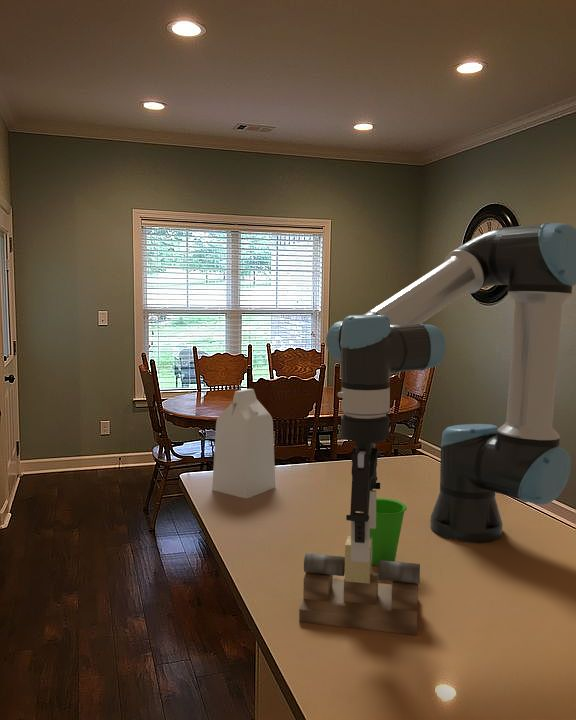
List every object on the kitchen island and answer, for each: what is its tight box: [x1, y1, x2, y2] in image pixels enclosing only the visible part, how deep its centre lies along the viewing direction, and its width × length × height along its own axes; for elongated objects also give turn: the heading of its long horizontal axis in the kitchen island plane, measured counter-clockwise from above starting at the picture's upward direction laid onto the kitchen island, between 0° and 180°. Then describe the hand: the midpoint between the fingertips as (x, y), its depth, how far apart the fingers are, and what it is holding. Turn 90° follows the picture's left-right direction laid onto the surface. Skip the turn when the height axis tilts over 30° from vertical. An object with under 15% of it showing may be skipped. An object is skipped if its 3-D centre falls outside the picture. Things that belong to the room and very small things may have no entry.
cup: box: [370, 497, 407, 567], centre depth 123 cm, size 9×9×11 cm
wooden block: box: [344, 535, 373, 584], centre depth 104 cm, size 4×4×6 cm
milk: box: [211, 388, 276, 499], centre depth 167 cm, size 12×12×26 cm
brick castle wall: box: [298, 552, 421, 636], centre depth 104 cm, size 18×12×8 cm, turn 78°
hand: (364, 543), depth 104 cm, fingers open, 13 cm apart
